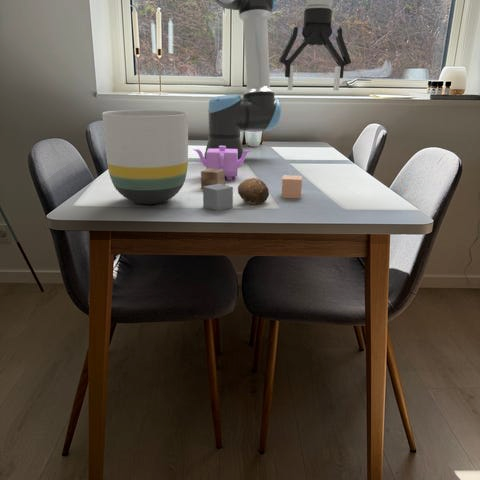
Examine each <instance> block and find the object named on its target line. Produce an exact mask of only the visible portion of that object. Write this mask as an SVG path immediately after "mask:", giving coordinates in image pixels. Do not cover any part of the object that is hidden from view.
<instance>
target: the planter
mask: <svg viewBox="0 0 480 480" xmlns="http://www.w3.org/2000/svg"><path fill="white" fill-rule="evenodd" d="M101 115H102V127H103V137H104V138H103V139H104V148H105V156H106V163H107V170H108V174H109V178H110V180H111V183H112V184H113V187H114V188H115V190H116V191H117V192H118V193H119V194H120V195H122V197H123V198H126V199H127V200H129V201H130V202H132V203H135V204H141V205H156V204H161V203H164V202H167V201H169V200H171V199H172V198H174V197H175V196H176V195H177V194H178V193H179V192H180V191H181V189H182V188H183V186H184V184H185V182H186V178H187V173H188V165H189V164H188V163H189V162H188V161H189V120H188V118H189V117H188V116H189V115H188V112H186V111H181V110H180V111H179V110H165V109H160V110H159V109H125V110H122V109H121V110H110V111H109V110H108V111H103V112H102V114H101Z"/></svg>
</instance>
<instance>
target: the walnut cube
mask: <svg viewBox="0 0 480 480" xmlns="http://www.w3.org/2000/svg"><path fill="white" fill-rule="evenodd" d="M200 175H201V176H200V186H201V187H200V189H201V190H203V186H209V185H214V184H223V185H226V179H225V177H226V176H225V170H223V169H212V168H208V169H206V168H205V169H203V170H201V171H200Z"/></svg>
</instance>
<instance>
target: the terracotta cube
mask: <svg viewBox="0 0 480 480" xmlns="http://www.w3.org/2000/svg"><path fill="white" fill-rule="evenodd" d="M302 185H303V176H302V175H284V174H283V175H282V182H281V198H282V199H302Z"/></svg>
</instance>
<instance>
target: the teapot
mask: <svg viewBox="0 0 480 480" xmlns="http://www.w3.org/2000/svg"><path fill="white" fill-rule="evenodd" d="M192 150H193V151H195V152H196V153H197V154H198V157H199V159H200V163H201V165H202V166H203V167H204V168H205V169H208V168H212V169H223V170H225V177H226V179H225V180H227V181H233V180H234V178H233V177H235V178H236V177H238V169H239V168H240V167H242V166H243V165H244V163H245V160H246V156H247V154H249V152H252V149H245V150H243V154H242V156H241V158H240V159H239V160H238V149H226V146H219V149H208V150H207V152H206V151H205V152H206V159H205V158H204V154H203V151H202V150H200V149H197V148H196V149H194V148H193V149H192Z"/></svg>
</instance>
